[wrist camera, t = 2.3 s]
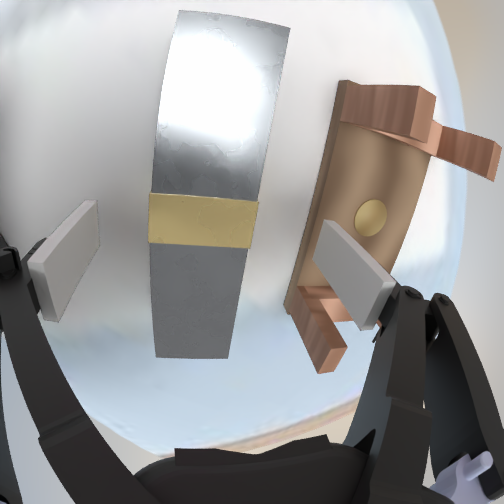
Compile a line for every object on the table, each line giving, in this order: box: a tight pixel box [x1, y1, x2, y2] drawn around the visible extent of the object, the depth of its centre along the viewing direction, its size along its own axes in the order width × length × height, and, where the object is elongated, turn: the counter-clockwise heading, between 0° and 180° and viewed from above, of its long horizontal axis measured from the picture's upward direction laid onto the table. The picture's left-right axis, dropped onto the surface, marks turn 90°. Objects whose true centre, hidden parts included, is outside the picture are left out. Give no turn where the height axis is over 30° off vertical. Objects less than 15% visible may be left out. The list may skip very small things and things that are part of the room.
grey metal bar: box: [148, 10, 290, 359], centre depth 18 cm, size 24×6×6 cm, turn 170°
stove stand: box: [284, 80, 502, 374], centre depth 21 cm, size 11×22×10 cm, turn 170°
